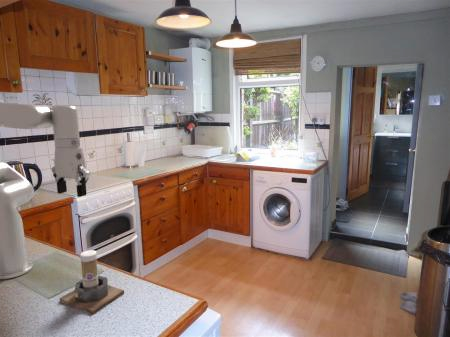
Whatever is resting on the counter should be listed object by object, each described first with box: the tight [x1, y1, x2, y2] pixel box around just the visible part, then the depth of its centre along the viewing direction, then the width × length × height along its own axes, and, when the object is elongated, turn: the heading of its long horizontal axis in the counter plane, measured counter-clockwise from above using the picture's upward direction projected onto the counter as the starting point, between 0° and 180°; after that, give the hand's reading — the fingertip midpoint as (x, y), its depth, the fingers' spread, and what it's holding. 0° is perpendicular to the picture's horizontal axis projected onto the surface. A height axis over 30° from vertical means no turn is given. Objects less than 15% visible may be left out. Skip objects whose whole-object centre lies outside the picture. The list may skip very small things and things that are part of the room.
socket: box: [74, 275, 109, 303], centre depth 100 cm, size 9×11×4 cm
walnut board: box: [59, 284, 125, 315], centre depth 101 cm, size 14×12×1 cm
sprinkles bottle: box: [79, 249, 99, 290], centre depth 99 cm, size 5×5×13 cm
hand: (72, 194), depth 111 cm, fingers open, 9 cm apart
